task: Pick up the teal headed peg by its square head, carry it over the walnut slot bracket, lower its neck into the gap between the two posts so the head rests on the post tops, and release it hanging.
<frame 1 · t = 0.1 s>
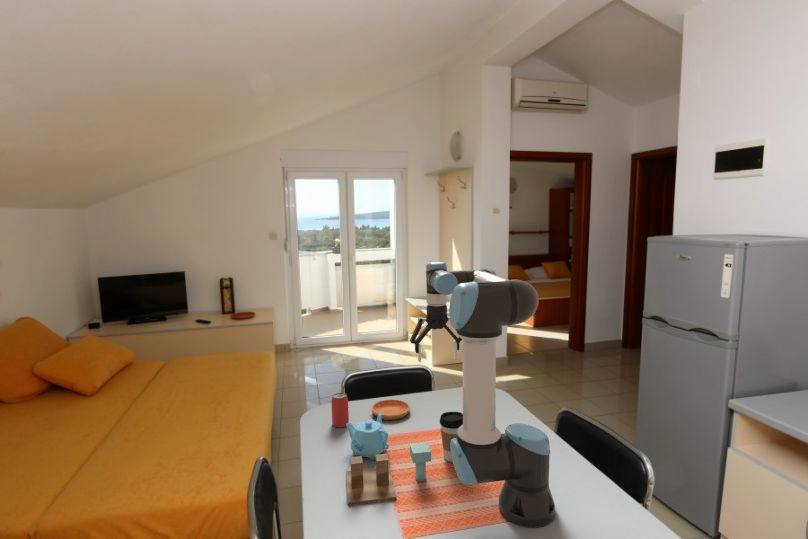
hand: (437, 359, 167), 28 cm above the table, fingers open, 13 cm apart
peg: (420, 478, 140), on the table
coffee cup: (452, 457, 152), on the table
teapot: (368, 452, 157), on the table
beer can: (340, 424, 178), on the table
saucer: (391, 414, 187), on the table
bracket: (370, 486, 137), on the table
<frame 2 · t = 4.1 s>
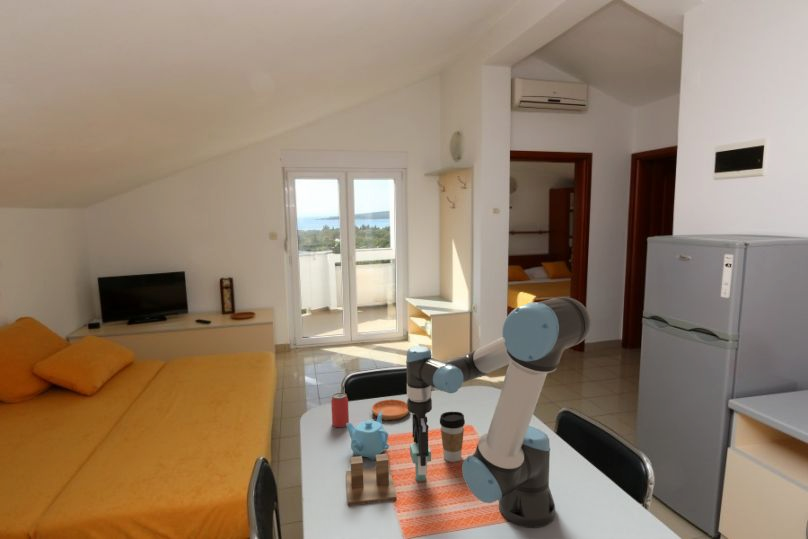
hand: (420, 468, 140), 3 cm above the table, fingers closed on peg, 6 cm apart
peg: (420, 478, 140), on the table, touching gripper
everything else where it was.
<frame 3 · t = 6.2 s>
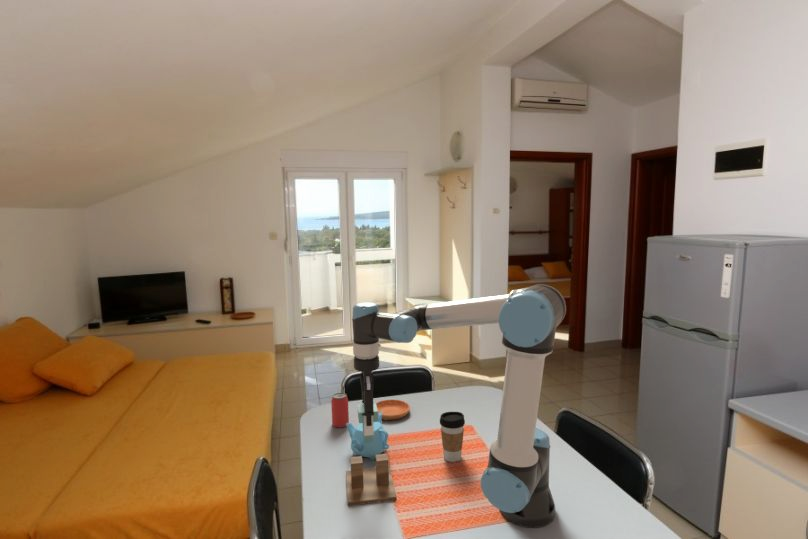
hand: (368, 429, 135), 18 cm above the table, fingers closed on peg, 6 cm apart
peg: (368, 440, 135), point 15 cm above the table, touching gripper
everything else where it was.
when the fingers open (6 cm above the table, at t = 8.5 s): peg stays where it is, resting on bracket.
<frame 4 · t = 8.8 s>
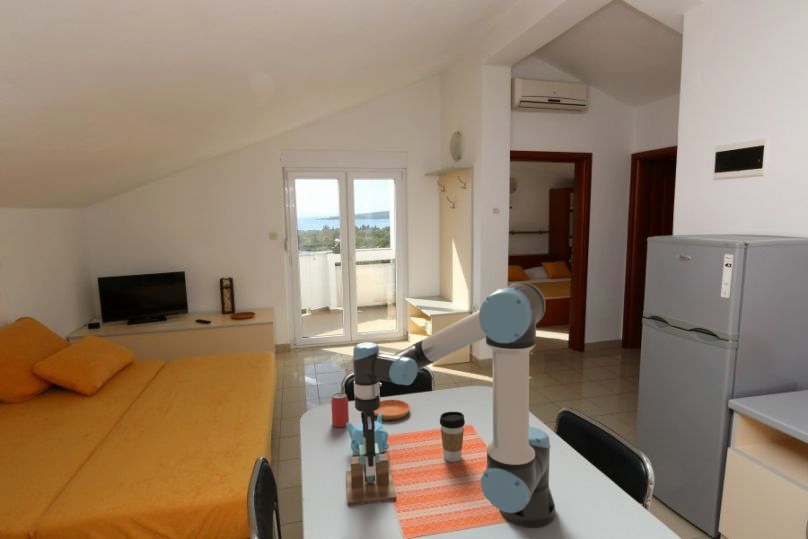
hand: (369, 465, 136), 7 cm above the table, fingers open, 9 cm apart
peg: (369, 480, 137), point 2 cm above the table, touching bracket
everything else where it was.
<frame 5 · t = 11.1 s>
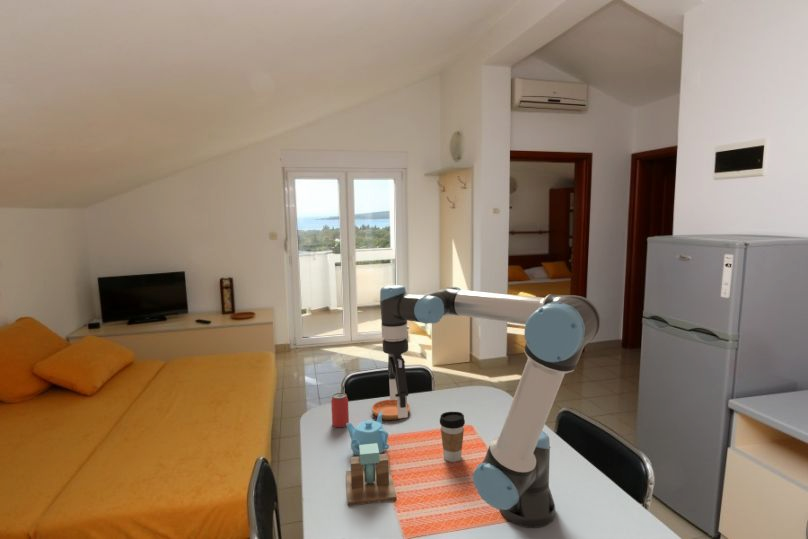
hand: (398, 407, 133), 25 cm above the table, fingers open, 13 cm apart
nothing on the table moved.
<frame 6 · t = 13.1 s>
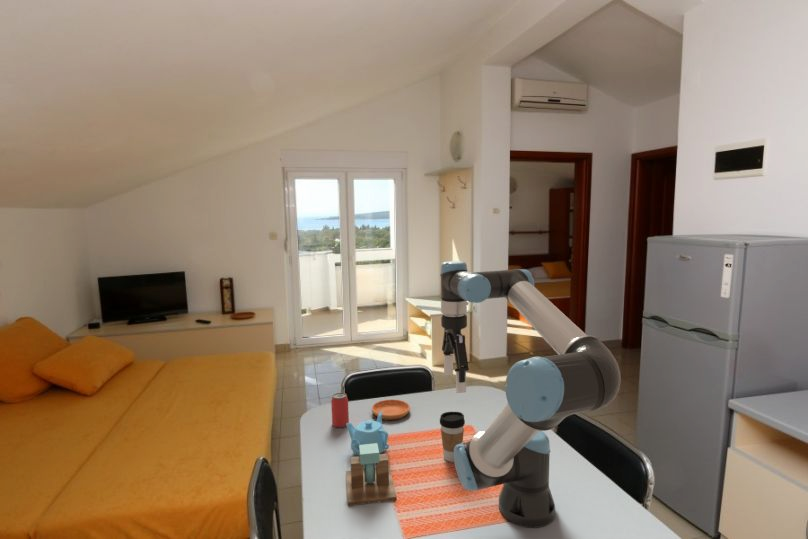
hand: (454, 383, 134), 32 cm above the table, fingers open, 13 cm apart
nothing on the table moved.
at the end: peg 0.0 cm off-centre on the bracket, point 2.0 cm above the bracket's base; peg tilted 0°; the gripper is holding nothing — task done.
